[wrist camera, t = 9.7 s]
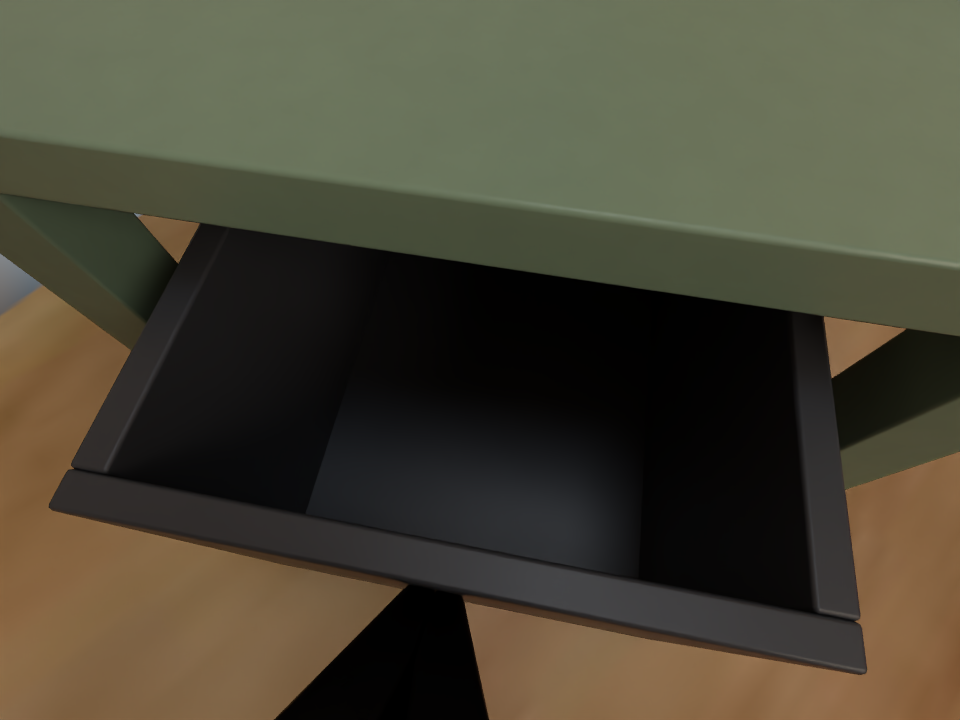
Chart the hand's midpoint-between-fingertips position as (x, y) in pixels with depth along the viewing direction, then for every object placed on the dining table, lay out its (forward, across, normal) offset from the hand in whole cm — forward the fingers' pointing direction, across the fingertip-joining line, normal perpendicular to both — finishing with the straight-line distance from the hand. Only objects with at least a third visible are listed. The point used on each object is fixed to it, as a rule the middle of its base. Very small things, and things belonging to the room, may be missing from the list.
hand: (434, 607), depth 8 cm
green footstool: (+13, 0, -2) cm, 14 cm away
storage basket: (+10, 0, +1) cm, 10 cm away
